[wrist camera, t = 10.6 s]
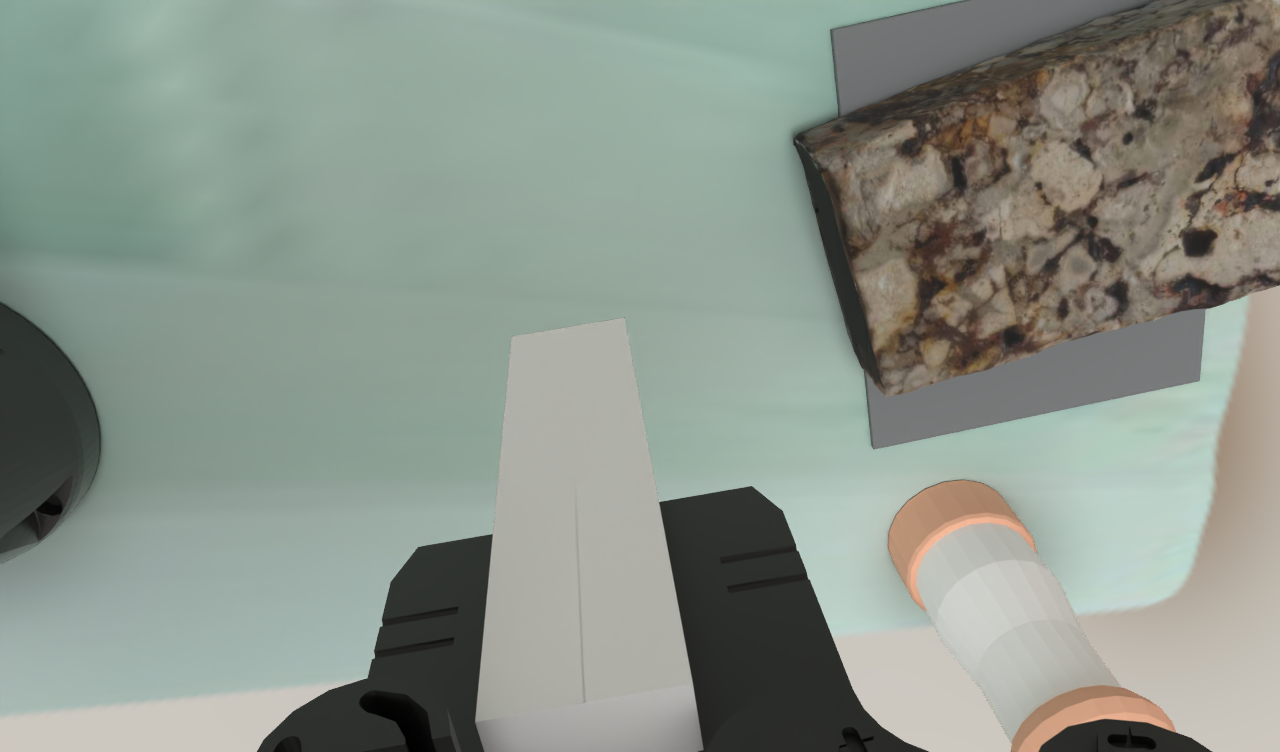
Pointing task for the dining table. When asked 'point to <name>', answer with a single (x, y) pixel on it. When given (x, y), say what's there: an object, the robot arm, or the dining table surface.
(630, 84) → the dining table surface
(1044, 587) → the salt shaker
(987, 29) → the mat
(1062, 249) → the stone block
